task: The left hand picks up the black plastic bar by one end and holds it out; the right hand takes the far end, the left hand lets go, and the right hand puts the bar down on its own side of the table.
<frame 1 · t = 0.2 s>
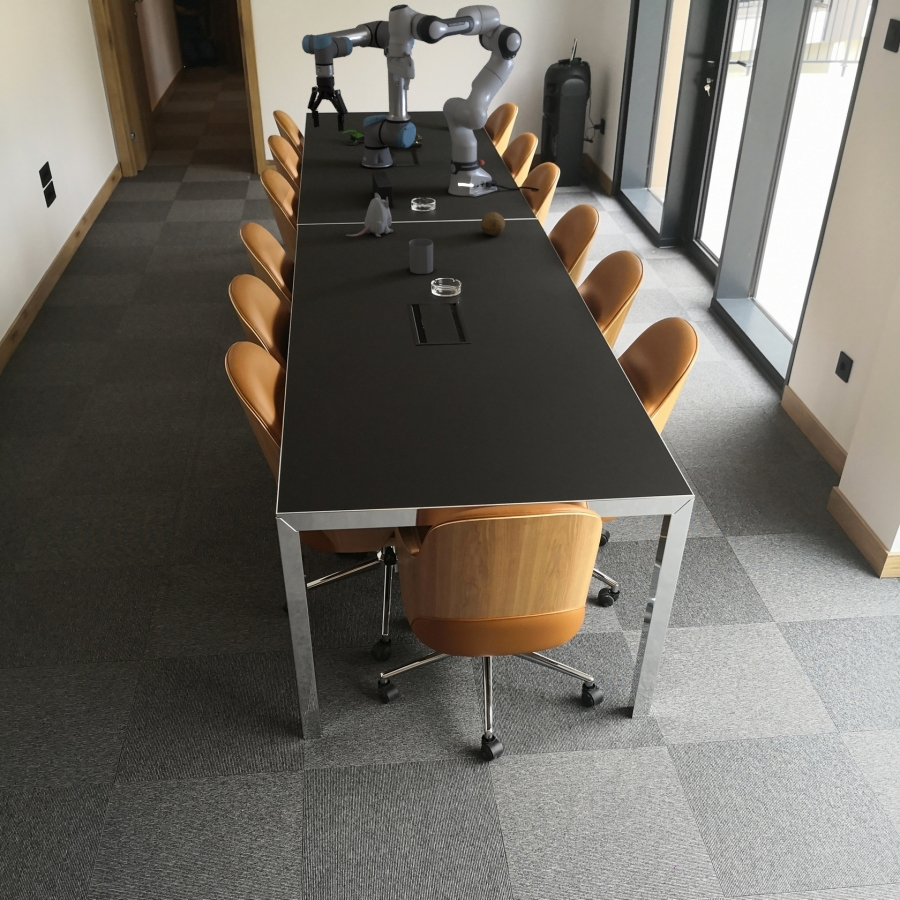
left hand: (328, 129, 373), 28 cm above the table, tool pointing down, fingers open, 13 cm apart
right hand: (401, 88, 351), 47 cm above the table, tool pointing down, fingers open, 8 cm apart
cup: (421, 270, 308), on the table
toy: (369, 237, 338), on the table
bar: (382, 200, 379), on the table
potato: (492, 234, 341), on the table
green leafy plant: (368, 143, 466), on the table
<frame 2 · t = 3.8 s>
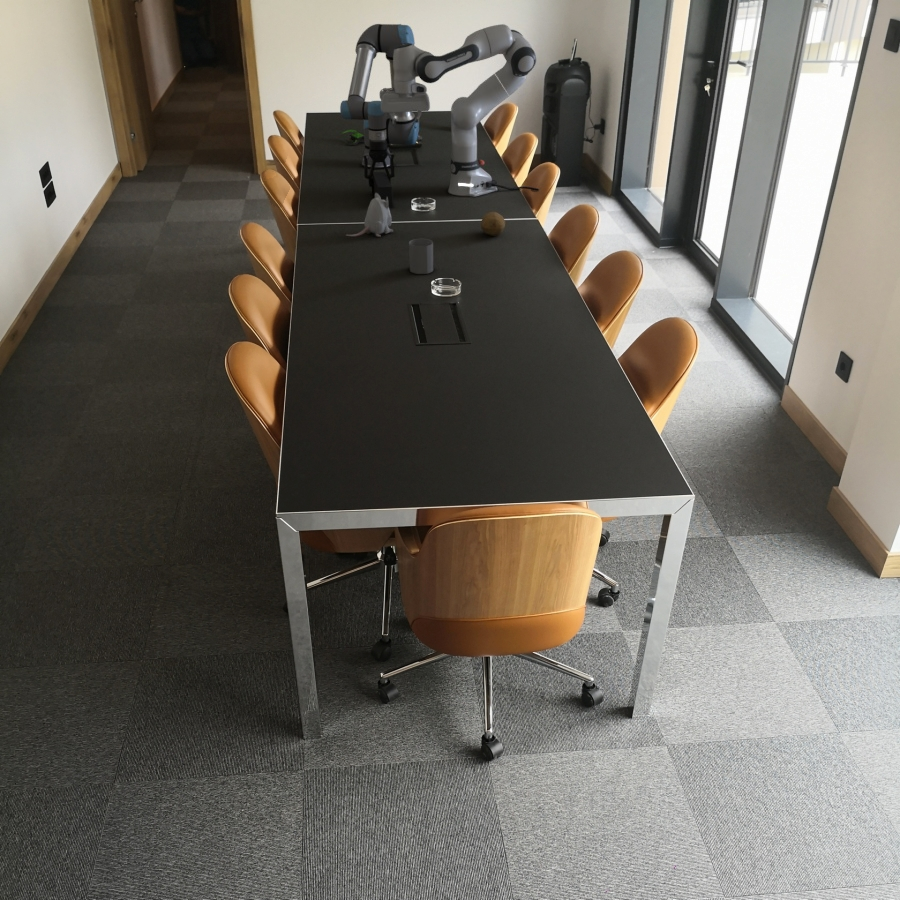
left hand: (380, 193, 386), 0 cm above the table, tool pointing down, fingers closed on bar, 6 cm apart
right hand: (405, 122, 359), 33 cm above the table, tool pointing down, fingers open, 8 cm apart
bar: (382, 200, 379), on the table, touching left hand
everything else where it was.
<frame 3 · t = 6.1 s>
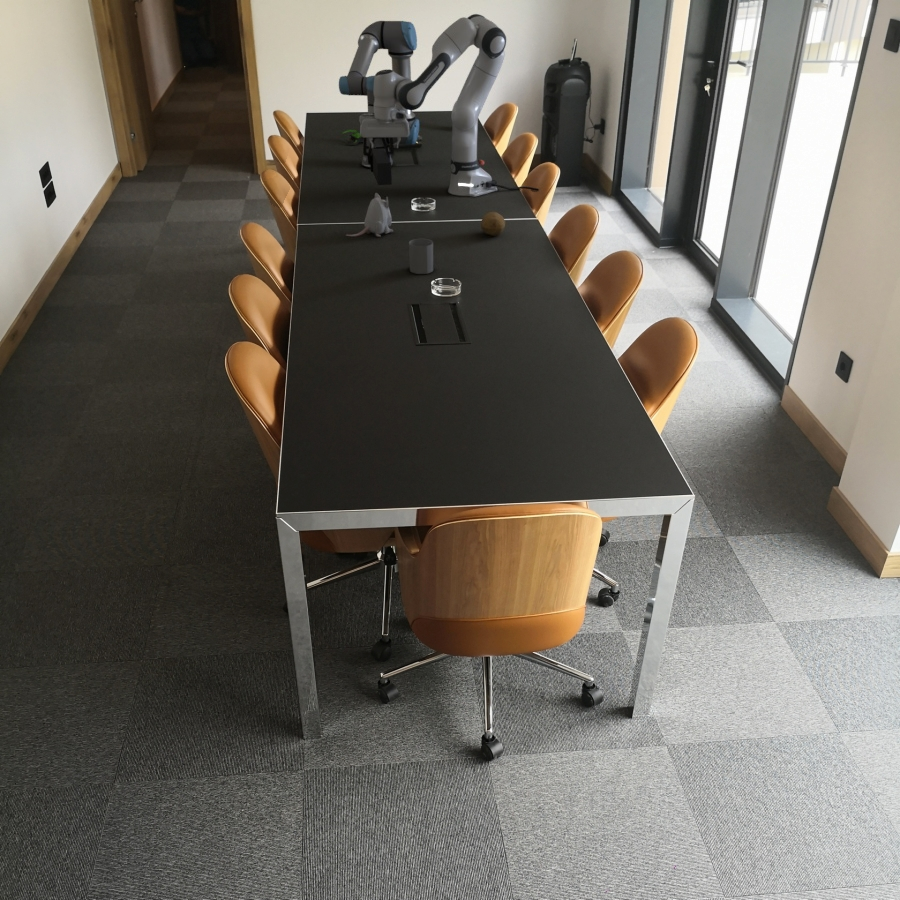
left hand: (379, 170, 381), 10 cm above the table, tool pointing down, fingers closed on bar, 6 cm apart
right hand: (384, 148, 360), 24 cm above the table, tool pointing down, fingers open, 8 cm apart
bar: (381, 177, 374), point 10 cm above the table, touching left hand
everything else where it was.
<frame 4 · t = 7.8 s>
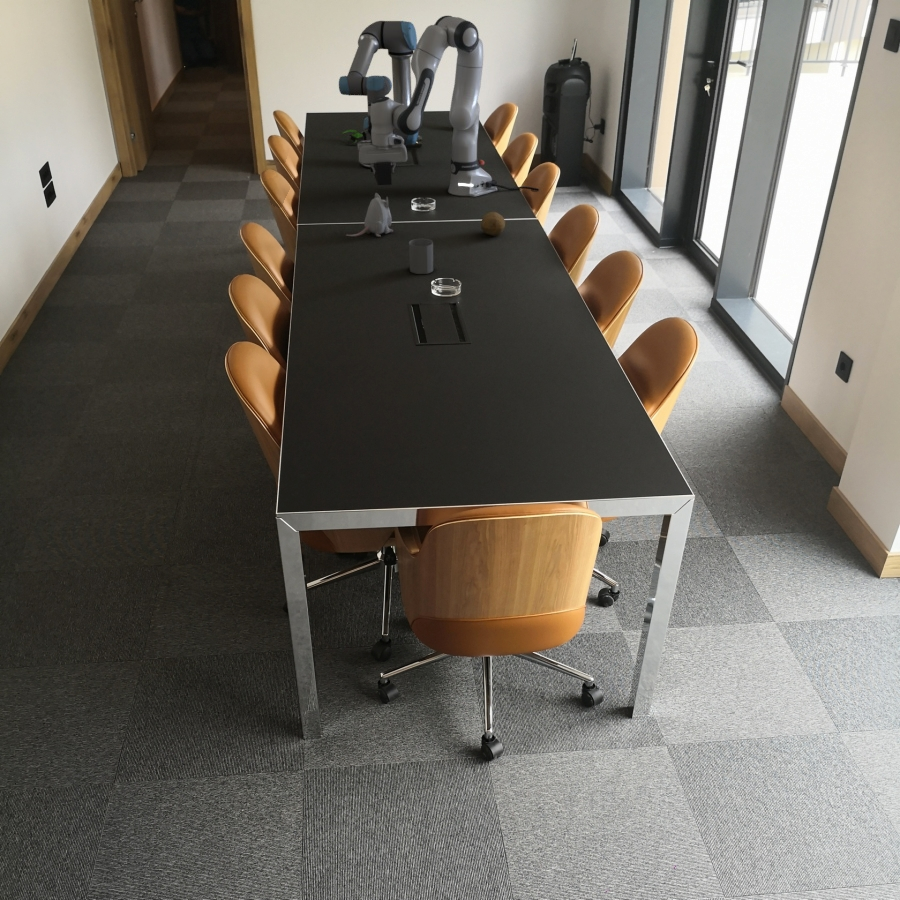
left hand: (379, 170, 381), 10 cm above the table, tool pointing down, fingers closed on bar, 6 cm apart
right hand: (383, 173, 365), 14 cm above the table, tool pointing down, fingers closed on bar, 6 cm apart
bar: (381, 177, 374), point 10 cm above the table, touching left hand, right hand
everything else where it was.
when the left hand's fingers open (10 cm above the table, at t = 8.8 s): bar stays where it is, held by the right hand.
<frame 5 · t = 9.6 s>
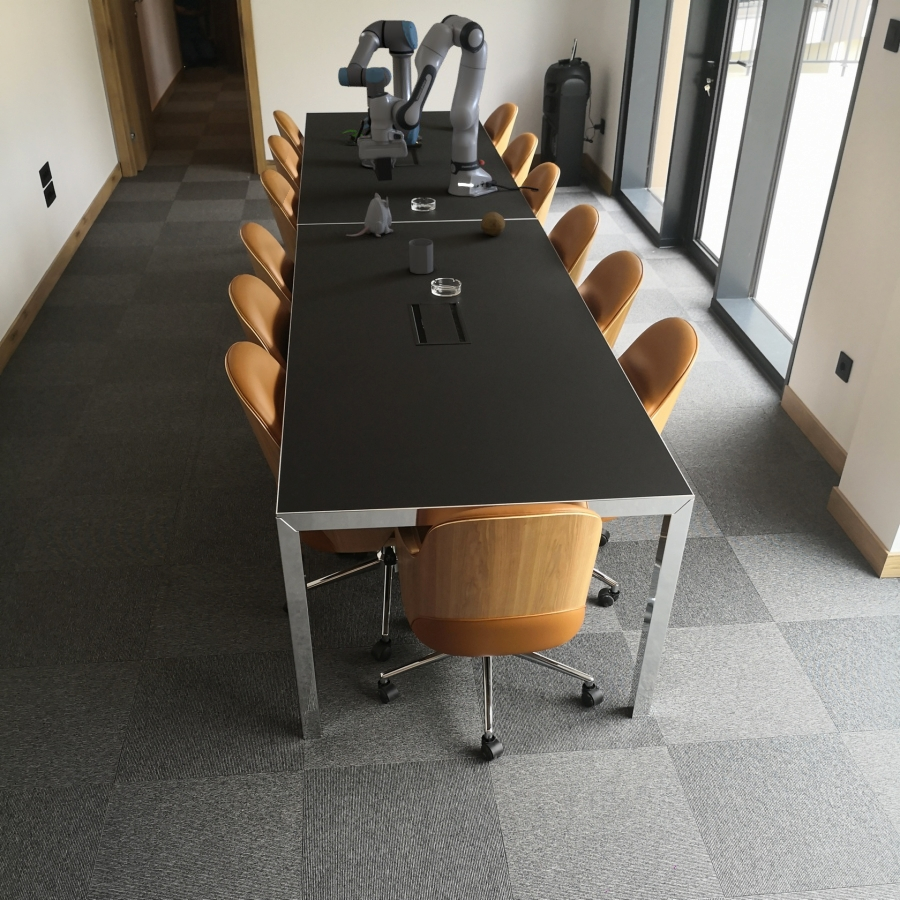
left hand: (378, 158, 379), 15 cm above the table, tool pointing down, fingers open, 13 cm apart
right hand: (383, 168, 364), 16 cm above the table, tool pointing down, fingers closed on bar, 6 cm apart
bar: (382, 173, 373), point 12 cm above the table, touching right hand
everything else where it was.
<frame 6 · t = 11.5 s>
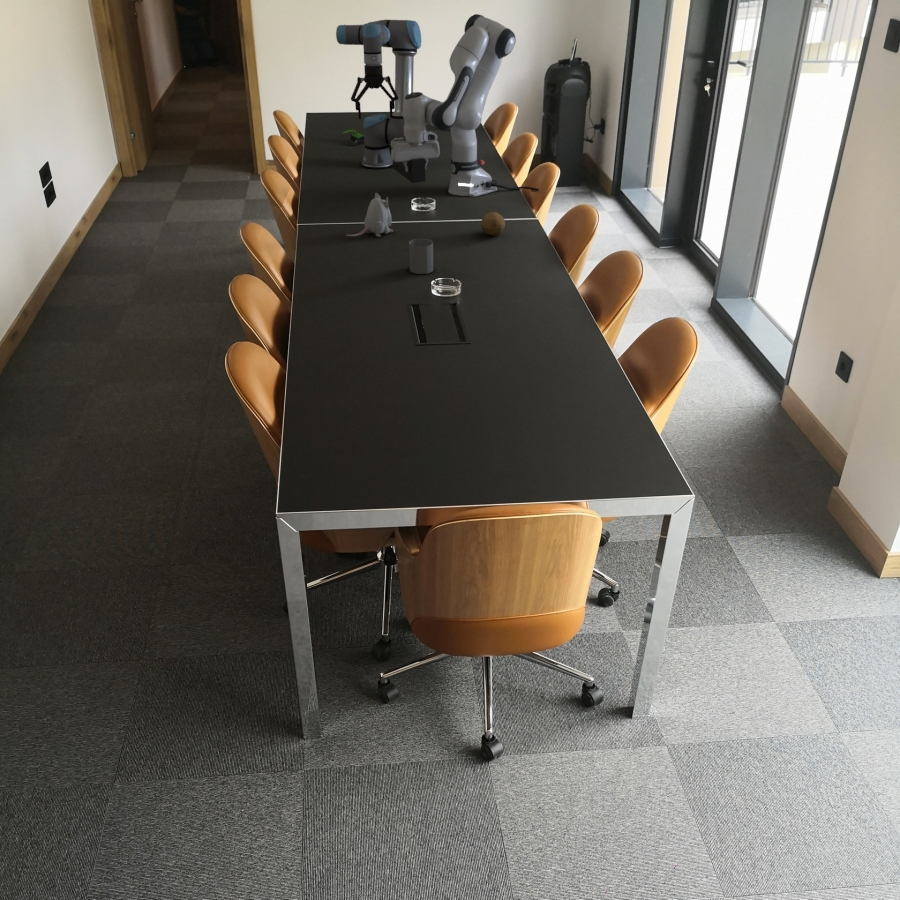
left hand: (375, 117, 374), 31 cm above the table, tool pointing down, fingers open, 13 cm apart
right hand: (415, 170, 358), 16 cm above the table, tool pointing down, fingers closed on bar, 6 cm apart
bar: (409, 174, 367), point 13 cm above the table, touching right hand
everything else where it was.
when the right hand's fingers open (5 cm above the table, at t = 15.2 s): bar drops 1 cm, on the table.
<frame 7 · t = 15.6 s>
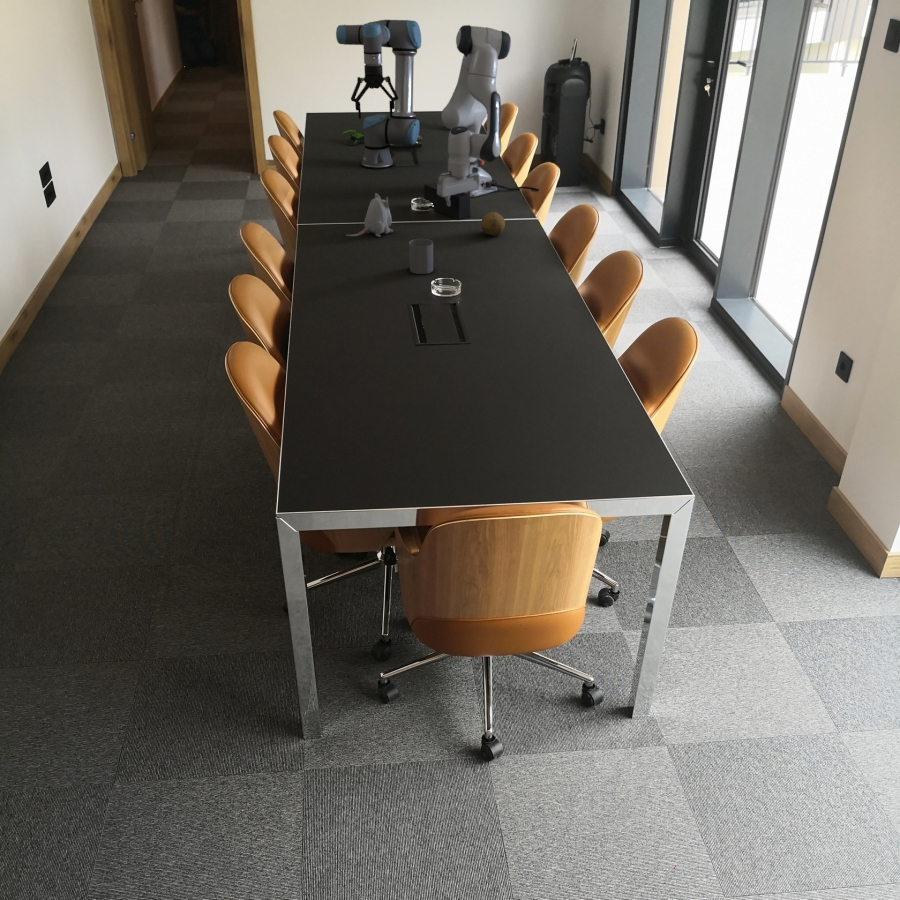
left hand: (375, 117, 374), 31 cm above the table, tool pointing down, fingers open, 13 cm apart
right hand: (458, 203, 358), 5 cm above the table, tool pointing down, fingers open, 8 cm apart
bar: (446, 211, 366), on the table
everything else where it was.
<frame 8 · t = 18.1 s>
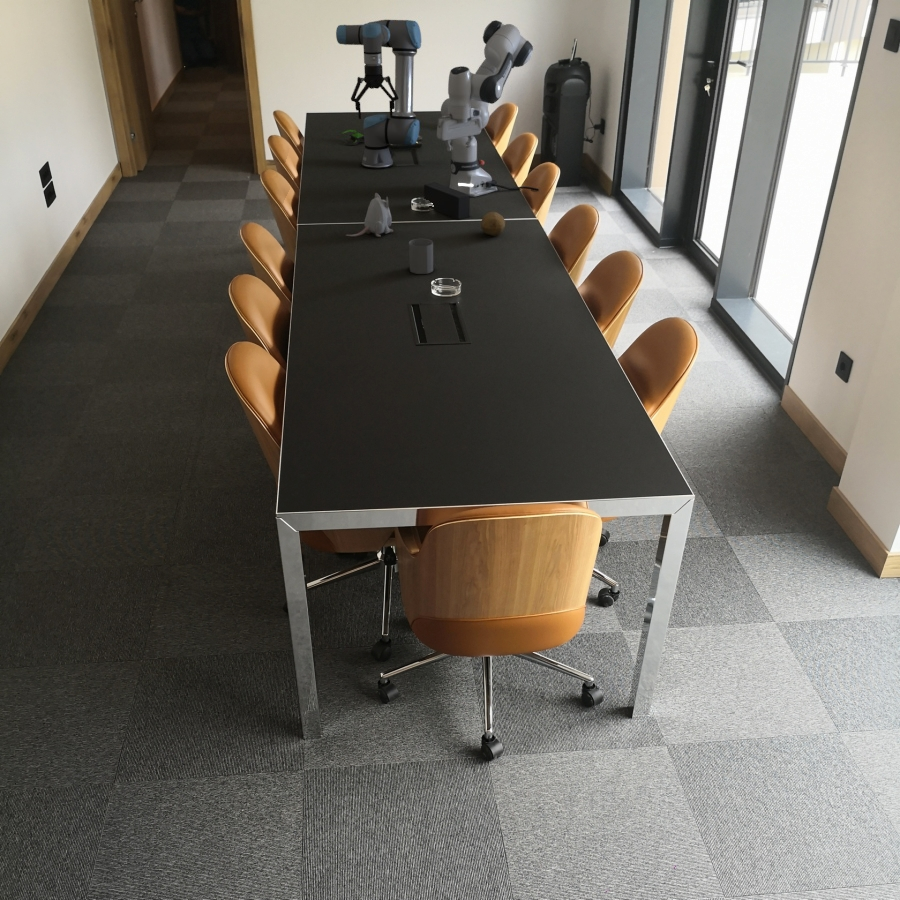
left hand: (375, 117, 374), 31 cm above the table, tool pointing down, fingers open, 13 cm apart
right hand: (459, 148, 346), 27 cm above the table, tool pointing down, fingers open, 8 cm apart
nothing on the table moved.
at the end: bar inside the target area (8.3 cm from its centre), on the table; the left hand is holding nothing; the right hand is holding nothing; bar at rest at the end (0.0 cm/s) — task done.
